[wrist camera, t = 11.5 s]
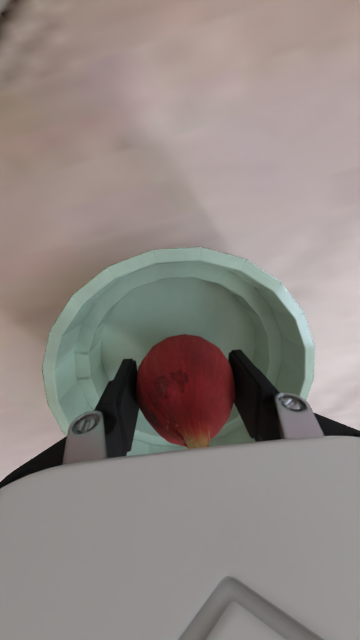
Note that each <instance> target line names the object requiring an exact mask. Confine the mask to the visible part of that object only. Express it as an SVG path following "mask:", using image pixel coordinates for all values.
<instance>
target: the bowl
mask: <svg viewBox="0 0 360 640" xmlns="http://www.w3.org/2000/svg"><path fill="white" fill-rule="evenodd" d="M182 334H187V335H194V336H200V337H202V338H204V339H206V340H207V341H209V342H211V343H212V344H214V345H216V346H217V347H219V348H220V350H221V351H222V352H223V354H224V355H225V357H226V358H227V360H228V355H229V352H231V351H232V350H238V349H241V350H242V351H243V353H244V354H245V355H246V356H247V357H248V358H249V360H250V361H251V362H252V363H253V364H254V365H255V366H256V368H258V369H259V370H260V371H261V372H262V373H263V374H264V375H265V376H266V377H267V379H268V380H269V381H270V382H271V383H272V384H273V385H274V387H275V388H276V389H277V390H278V391H279V392H280V393H282V392H289V393H293V394H296V395H298V396H300V397H302V398H303V399H305V400H307V397H308V394H309V391H310V388H311V385H312V382H313V378H314V355H315V346H314V342H313V339H312V336H311V332H310V329H309V326H308V323H307V320H306V316H305V313H304V311H303V310H302V309H301V308H300V306H299V305H298V304H297V302H296V301H295V300H294V298H293V297H292V296H291V294H290V293H289V292H288V290H287V289H286V288H285V287H284V285H283V284H282V283H281V282H280V281H279V280H278V279H276V278H274V277H273V276H271V275H270V274H268V273H267V272H265V271H264V270H262V269H261V268H259V267H258V266H256V265H255V264H253V263H251V262H250V261H248V260H247V259H244V258H242V257H238V256H234V255H230V254H226V253H222V252H218V251H215V250H211V249H207V248H203V247H201V248H200V247H189V248H171V249H154V250H150V251H147V252H145V253H142V254H139V255H137V256H134V257H131V258H129V259H126V260H124V261H121V262H118V263H116V264H113V265H111V266H108V268H105V269H104V270H102V271H101V272H100V273H99V274H98V275H96V276H95V277H94V278H93V279H91V280H90V281H89V282H88V283H87V284H85V285H84V286H83V287H82V288H80V289H79V290H78V291H77V292H75V293H74V294H73V295H72V296H71V297H70V299H69V301H68V302H67V304H66V305H65V307H64V309H63V310H62V312H61V314H60V315H59V317H58V318H57V320H56V322H55V323H54V325H53V327H52V328H51V330H50V332H49V336H48V341H47V345H46V350H45V355H44V360H43V365H42V372H43V379H44V385H45V392H46V398H47V403H48V406H49V408H50V409H51V411H52V413H53V415H54V417H55V419H56V421H57V423H58V424H59V426H60V428H61V430H62V432H64V434H65V435H66V436H67V433H68V428H69V425H70V424H71V423H72V421H73V420H74V419H75V418H76V417H78V416H79V415H81V414H83V413H85V412H88V411H94V409H95V407H96V405H97V403H98V401H99V399H100V397H101V396H102V394H103V392H104V390H105V388H106V386H107V384H108V382H109V381H112V380H113V379H114V377H115V375H116V373H117V371H118V369H119V367H120V365H121V363H122V361H123V359H131V358H132V359H133V361H134V360H136V364H137V371H138V367H139V365H140V364H141V362H142V360H143V359H144V357H145V356H146V355H147V353H148V352H149V350H150V349H151V348H152V346H154V345H156V344H157V343H159V342H161V341H162V340H164V339H166V338H167V337H171V336H177V335H182ZM251 442H256V441H255V439H254V438H251V437H250V435H249V433H248V431H247V429H246V427H245V425H244V423H243V421H242V419H241V417H240V414H239V412H238V410H237V408H236V406H235V404H233V407H232V410H231V414H230V417H229V419H228V420H227V422H226V423H225V425H224V426H223V427H222V429H221V430H220V432H219V433H218V434H217V435H216V436H214V437H213V438H212V439H210V443H209V447H213V446H222V445H231V444H241V443H251ZM185 449H188V448H187V447H185V446H181V445H176V444H173V443H169V442H168V441H166V440H165V439H164V438H162V437H161V436H160V435H159V434H158V433H157V432H156V431H155V430H154V429H153V427H152V426H151V425H150V424H149V423H148V421H147V420H146V419H145V417H144V415H143V414H142V412H141V410H140V408H139V413H138V418H137V423H136V428H135V433H134V438H133V443H132V448H131V451H130V452H127V456H132V455H141V454H149V453H158V452H167V451H176V450H185Z"/></svg>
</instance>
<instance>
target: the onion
mask: <svg viewBox="0 0 360 640" xmlns="http://www.w3.org/2000/svg"><path fill="white" fill-rule="evenodd" d="M135 396H136V400H137V404H138V406H139V408H140V410H141V412H142V414H143V415H144V417H145V419H146V420H147V421H148V423H149V424H150V425H151V426H152V427H153V429H154V430H155V431H156V432H157V433H158V434H159V435H160V436H161V437H162V438H164V439H165V440H166V441H168V442H169V443H173V444H176V445H181V446H185V447H187V448H188V449H194V448H203V447H209V443H210V439H212V438H213V437H214V436H216V435H217V434H218V433H219V432H220V430H221V429H222V427H223V426H224V425H225V423H226V422H227V420H228V419H229V417H230V414H231V410H232V407H233V404H234V400H235V396H236V392H235V382H234V375H233V370H232V367H231V365H230V363H229V361H228V360H227V358H226V357H225V355H224V354H223V352H222V351H221V350H220V348H219V347H217V346H216V345H214V344H212V343H211V342H209V341H207V340H206V339H204V338H202V337H200V336H194V335H187V334H182V335H177V336H171V337H167V338H166V339H164V340H162V341H161V342H159V343H157V344H156V345H154V346H152V348H151V349H150V350H149V352H148V353H147V355H146V356H145V357H144V359H143V360H142V362H141V364H140V365H139V367H138V373H137V382H136V394H135Z"/></svg>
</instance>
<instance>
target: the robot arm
mask: <svg viewBox="0 0 360 640" xmlns="http://www.w3.org/2000/svg"><path fill="white" fill-rule="evenodd" d="M228 361H229V363H230V365H231V367H232V370H233V375H234V382H235V392H236V396H235V400H234V404H235V406H236V408H237V410H238V412H239V414H240V417H241V419H242V421H243V423H244V425H245V427H246V429H247V431H248V433H249V435H250V437H251V438H254V439H255V441H256V442H251V443H241V444H231V445H222V446H213V447H203V448H194V449H185V450H176V451H167V452H158V453H149V454H141V455H132V456H127V452H130V451H131V448H132V443H133V438H134V433H135V428H136V423H137V418H138V413H139V406H138V404H137V400H136V396H135V394H136V382H137V373H138V371H137V364H136V360H134V361H133V359H132V358H131V359H123V361H122V363H121V365H120V367H119V369H118V371H117V373H116V375H115V377H114V379H113V380H112V381H109V382H108V384H107V386H106V388H105V390H104V392H103V394H102V396H101V397H100V399H99V401H98V403H97V405H96V407H95V409H94V411H88V412H85V413H83V414H81V415H79V416H78V417H76V418H75V419H74V420H73V421H72V423H71V424H70V425H69V428H68V433H67V436H66V437H65V438H63V439H62V440H60V441H59V442H57V443H56V444H54V445H53V446H51V447H50V448H48V449H46V450H45V451H43V452H42V453H40V454H39V455H37V456H36V457H34V458H33V459H31V460H30V461H28V462H26V463H25V464H23V465H22V466H20V467H19V468H17V469H16V470H14V471H13V472H12V473H10V474H9V475H8V476H6V477H5V478H4V479H3V480H2V481H1V482H0V640H360V431H359V430H356V429H354V428H351V427H348V426H346V425H343V424H341V423H338V422H336V421H333V420H331V419H328V418H326V417H323V416H321V415H318V414H316V413H313V411H312V409H311V407H310V405H309V404H308V402H307V401H306V400H305V399H303V398H302V397H300V396H298V395H296V394H293V393H289V392H282V393H280V392H279V391H278V390H277V389H276V388H275V387H274V385H273V384H272V383H271V382H270V381H269V380H268V379H267V377H266V376H265V375H264V374H263V373H262V372H261V371H260V370H259V369H258V368H256V366H255V365H254V364H253V363H252V362H251V361H250V360H249V358H248V357H247V356H246V355H245V354H244V353H243V351H242V350H241V349H238V350H232V351H231V352H229V355H228Z"/></svg>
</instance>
